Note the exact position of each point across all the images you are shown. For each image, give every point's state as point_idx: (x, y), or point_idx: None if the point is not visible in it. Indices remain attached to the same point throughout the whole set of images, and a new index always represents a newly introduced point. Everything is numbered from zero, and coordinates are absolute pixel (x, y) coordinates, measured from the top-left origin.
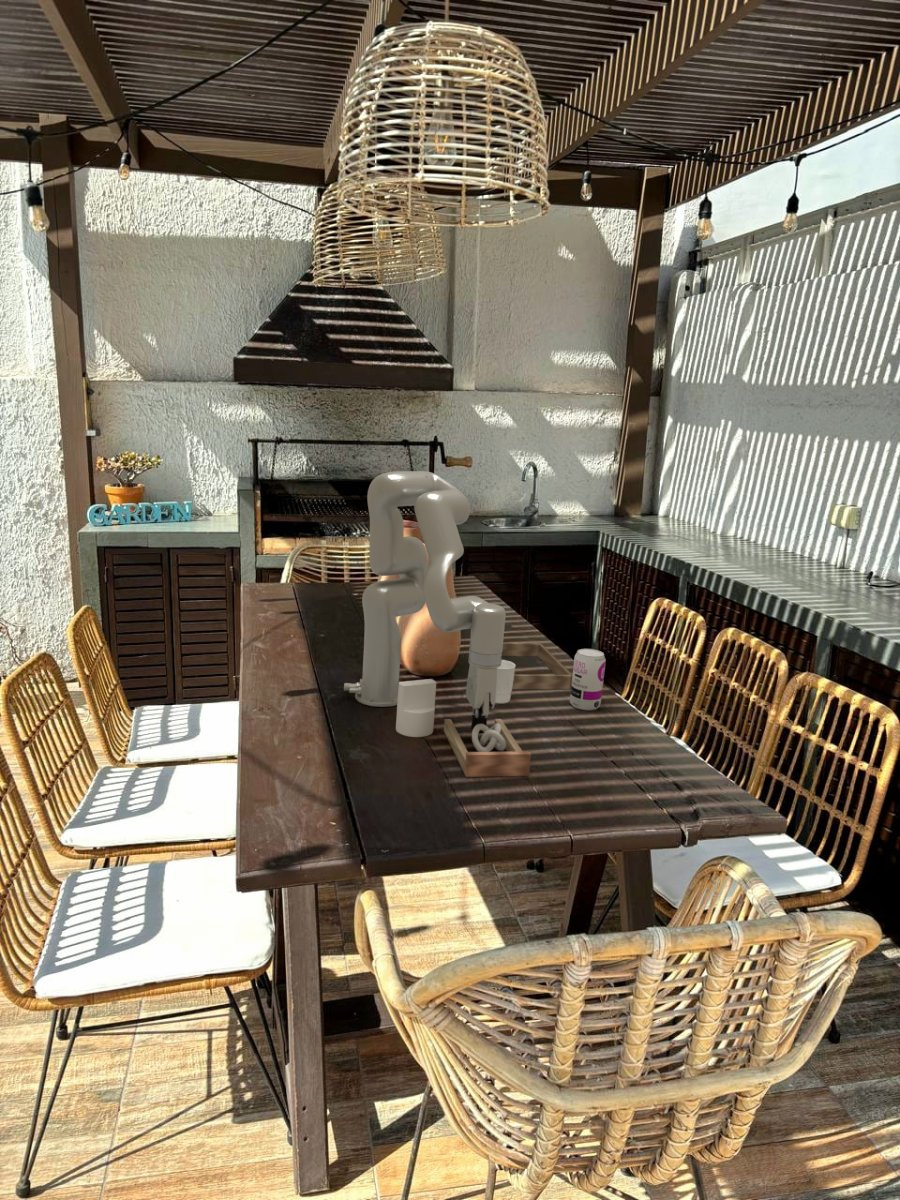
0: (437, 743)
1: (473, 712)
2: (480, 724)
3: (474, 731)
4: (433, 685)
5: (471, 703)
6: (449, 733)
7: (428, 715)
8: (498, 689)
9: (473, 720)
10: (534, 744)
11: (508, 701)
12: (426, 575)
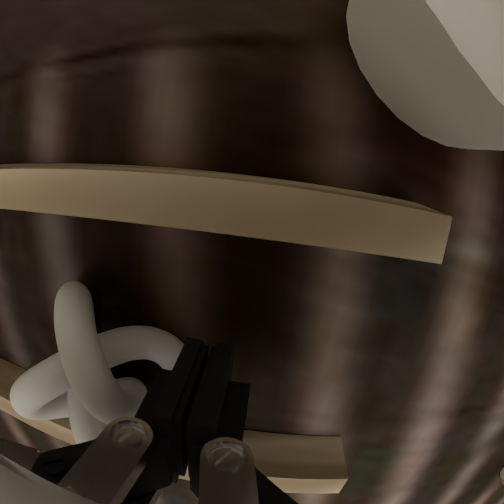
0: (229, 95)
1: (221, 452)
2: (79, 398)
3: (55, 325)
4: None
5: (3, 489)
6: (239, 178)
7: (414, 21)
8: None
9: (162, 395)
10: (185, 486)
11: (500, 476)
12: None
